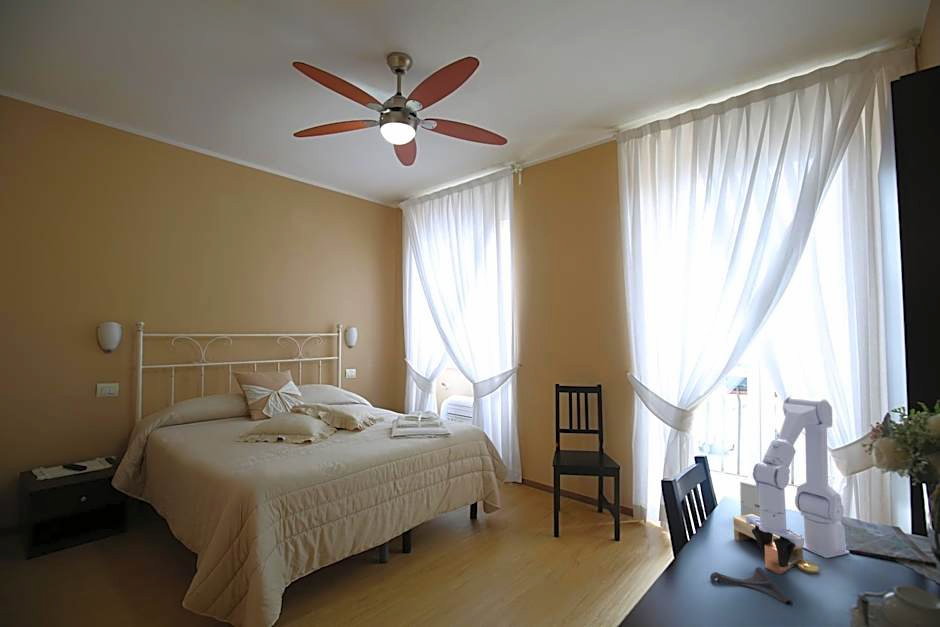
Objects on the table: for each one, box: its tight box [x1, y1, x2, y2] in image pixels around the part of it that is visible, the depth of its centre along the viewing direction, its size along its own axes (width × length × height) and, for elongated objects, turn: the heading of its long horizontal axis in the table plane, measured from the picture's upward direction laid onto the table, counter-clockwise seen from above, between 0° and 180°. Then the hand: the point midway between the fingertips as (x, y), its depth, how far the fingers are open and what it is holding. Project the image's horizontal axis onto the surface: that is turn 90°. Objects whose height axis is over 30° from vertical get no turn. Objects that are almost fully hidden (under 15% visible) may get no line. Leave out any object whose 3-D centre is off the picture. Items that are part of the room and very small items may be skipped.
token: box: [796, 559, 819, 575], centre depth 113 cm, size 4×4×2 cm
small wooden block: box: [764, 542, 804, 575], centre depth 115 cm, size 11×4×6 cm, turn 116°
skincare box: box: [739, 478, 760, 517], centre depth 144 cm, size 6×4×12 cm
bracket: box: [709, 566, 794, 606], centre depth 106 cm, size 14×15×3 cm
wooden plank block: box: [732, 514, 804, 559], centre depth 124 cm, size 8×15×6 cm, turn 17°
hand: (775, 561), depth 113 cm, fingers closed on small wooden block, 4 cm apart
